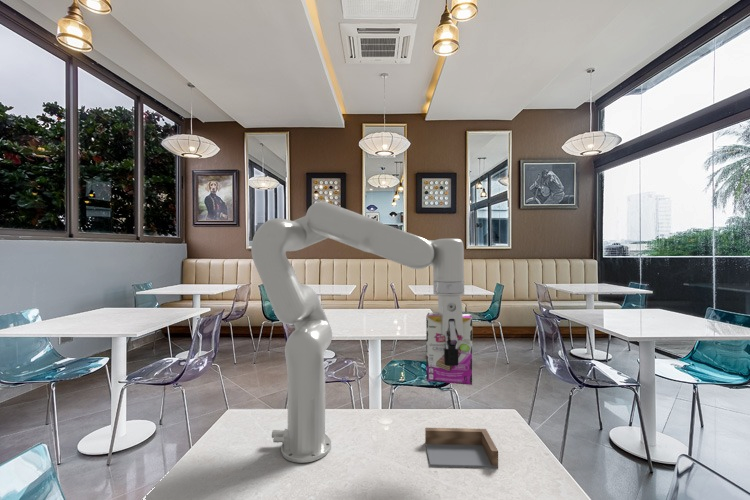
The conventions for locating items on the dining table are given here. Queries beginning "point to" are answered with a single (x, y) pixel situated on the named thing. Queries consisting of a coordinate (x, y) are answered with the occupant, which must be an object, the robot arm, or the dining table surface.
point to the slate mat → (457, 456)
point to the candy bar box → (435, 352)
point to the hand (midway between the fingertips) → (449, 360)
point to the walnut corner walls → (463, 439)
